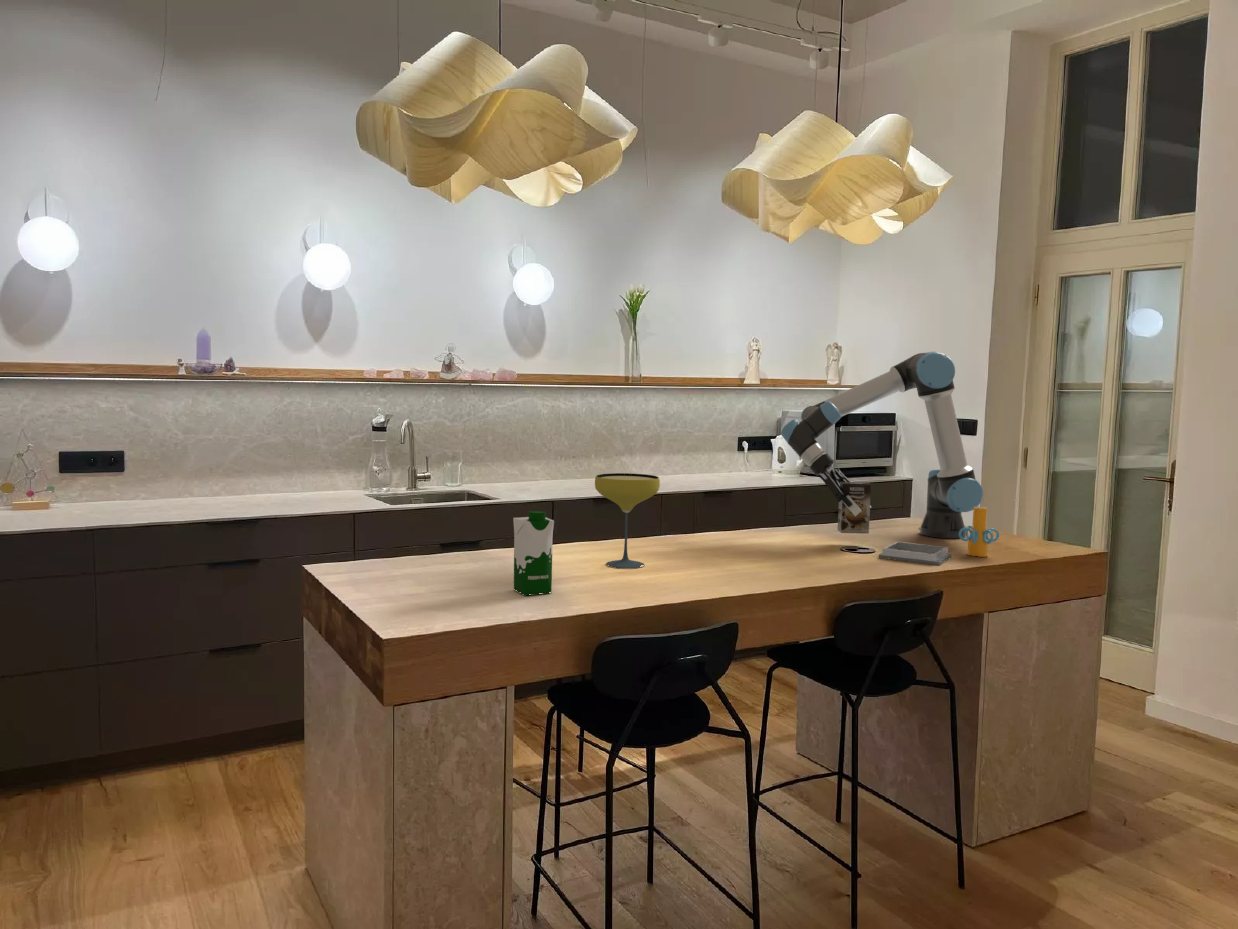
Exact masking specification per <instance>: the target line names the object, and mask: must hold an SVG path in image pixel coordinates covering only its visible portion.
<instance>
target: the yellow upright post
mask: <svg viewBox="0 0 1238 929" xmlns="http://www.w3.org/2000/svg"><path fill="white" fill-rule="evenodd" d="M972 511H973V513H972V525H967V526H966V527H965V528H962V529H961V530H960V531H959V537H960V538H959V539H960V540H961V541H965V542H968V543H967V555H968V556H970V555H972V556H971V557H975V556H978V557H977V558H986V556H987V557H988V556H989V545H990V544H992V543H994V542H996V541H998V540H999V538H1000V532H999V530H998V529H996V528H992V527H991V528H988V529H987V521H988V507H986V506H985V507H984V506H978V507H974V509H973V510H972ZM964 530H965V534H966V536H965V537H964V538H963V537H962V535H961V533H962V531H964ZM993 532H995V533H996V537H995V538H994V534H993ZM989 535H990V538H989Z"/></svg>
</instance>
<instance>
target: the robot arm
mask: <svg viewBox="0 0 1238 929" xmlns="http://www.w3.org/2000/svg"><path fill="white" fill-rule="evenodd" d="M955 374H956V366H955V364H954V362H953V360H952V358H950V356H948V355H946V354H945V353H941V352H938V351H929V352H921V353H916V354H914V355H912V356H910V357H909V358H907V359H904V360H903V361H901V362H899V363H897V364H895V365H893V366H890V369H889V371H887V372H884V373H883V374H880V375H879V376H876V377H874V378H872V379H869V380H867V381H864V382H863V383H860V384H858V385H856V386H854V387H851V388H850V389H847V390H845V391H843V392H841V393H838V394H836V395H834V396H832V397H829V398H827V399H826V400H823V401H821V402H819V403H816V404H814V405H809V406H807V407H805V408H804V409H803V410H802V411H801V413H800V414H801V415H800V420H801V421H800V420H798V419H797V418H795V419H792V420H790V421H789V422H787V424H785V425H784V426H783V427H782V429H781V431H780V434H781V437H782V439H784V440H785V442H786V444H787V445H789V446H790V448H792V449H793V451H794V452H795V454H796V455H798V456H799V458H800V459H801V460H802V461H801V462H802V463H803V464H804V463H805V465H807V467H809V469H810V471H812V473H814V475H815V476H817V477H818V476H819V479H821V481H823V483H824V484H825V486H827V488H828V489H829V491H830V492H831V493H832V495H833V496H834V497H835V499H836V501H837V502H838V503H839V502H840V501H841V500H842V502H843V503H844V504H845V505H846V506H847V508H848V509H849V510H850V511H851V512H852V513H853V514H854V516H857V515H858V514H859V513H860V512H861V511H862V510H861V509H860V508H859V507H858V505H857V504H856V503H855V502H854V501H853V500H852V499H851V498H850V496H849V495H848V496H847V495H846V493H845V492H844V490H843V488H842V487H841V485H840V482H852V481H851V480H850V479H849V478H848V477H847V476H845V474H844V473H843V472H842V471H841V470H840V468H834V467H833V466H832V465H833V464H834V463H835V462H834V461H835V460H834V458H832V457H831V455H830V454H829V453H826V452H827V451H826V450H825V449H824V448H823V446H822V445H821V444H820V443H819V442H818V441H817V440H816V439H817V438H819V437H820V436H821V435H822V434H823V433H825V432H826V431H827V430H829V429H830V428H831V427H833V426H834V425H835V424H836V423H837V422H838V421H839V420H841V418H842V417H844V416H846V415H849V414H851V413H853V412H855V411H857V410H859V409H863V408H864V407H867V406H868V405H871V404H873V403H876V402H877V401H880V400H882V399H885V398H886V397H888V396H891V395H893V394H895V393H898V392H899V393H904V392H907V391H910V390H912V389H913V390H914V389H916V392H917V396H918V397H919V398H920V399H921V400H923V401H924V404H925V410H926V413H927V414H926V415H927V418H928V421H929V422H928V423H929V426H930V431H931V435H932V439H933V444H934V448H935V451H936V457H937V460H938V464H939V468H940V469H931V470H930V471H929V472H928V475H927V476H928V477H927V492H926V493H927V494H926V495H927V496H926V510H925V512H926V513H925V515H924V517H923V519H922V522H921V524H920V527H919V534H920V535H922V536H925V537H933V538H939V539H960V537H959V531H960V530H961V529H962V528H965V524H964V523H965V522H964V519H963V515H962V513H969V512H972V511H973V509H974V507H980V504H981V503H982V501H983V499H984V490H983V487H982V485H981V483H980V482H979V481H978V480H977V479H976V476H975V470H974V468H973V466H971V465H970V464H968V462H967V458H966V453H965V450H964V445H963V441H962V436H961V432H960V428H959V423H958V419H957V415H956V410H955V407H954V405H955V404H954V402H953V397H952V394H953V392H954V390H955V385H954V384H955V383H954V379H955ZM870 509H872V506H871V505H870ZM961 535H962V537H963V538H966V534H965V530H964V531H962V533H961Z"/></svg>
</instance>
